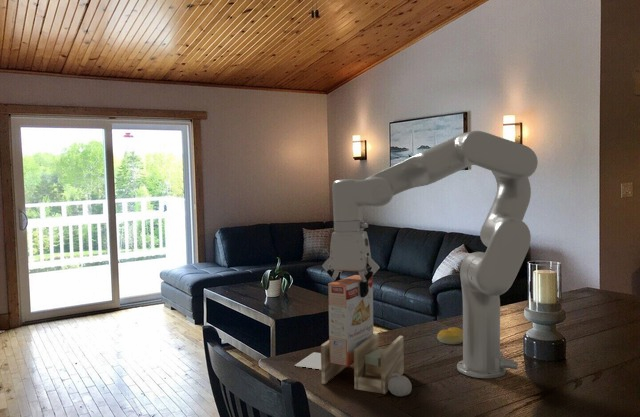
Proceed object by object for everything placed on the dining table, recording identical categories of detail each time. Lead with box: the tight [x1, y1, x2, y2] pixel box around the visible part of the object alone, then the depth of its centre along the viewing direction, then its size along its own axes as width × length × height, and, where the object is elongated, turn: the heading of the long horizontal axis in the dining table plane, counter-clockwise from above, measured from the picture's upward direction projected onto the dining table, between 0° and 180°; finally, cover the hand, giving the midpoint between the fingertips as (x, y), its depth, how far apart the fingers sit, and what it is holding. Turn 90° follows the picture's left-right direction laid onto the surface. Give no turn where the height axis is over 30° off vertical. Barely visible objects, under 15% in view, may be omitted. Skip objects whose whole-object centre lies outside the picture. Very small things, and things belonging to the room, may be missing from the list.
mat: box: [293, 352, 321, 371], centre depth 159 cm, size 10×12×1 cm
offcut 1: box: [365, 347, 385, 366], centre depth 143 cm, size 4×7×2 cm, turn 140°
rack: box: [320, 332, 405, 395], centre depth 145 cm, size 17×15×10 cm
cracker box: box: [327, 274, 374, 368], centre depth 146 cm, size 14×6×21 cm, turn 146°
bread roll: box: [436, 326, 463, 345], centre depth 175 cm, size 8×9×4 cm
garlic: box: [388, 373, 413, 397], centre depth 135 cm, size 6×5×5 cm
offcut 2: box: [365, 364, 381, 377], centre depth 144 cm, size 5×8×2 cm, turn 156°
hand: (351, 294), depth 146 cm, fingers closed on cracker box, 6 cm apart
